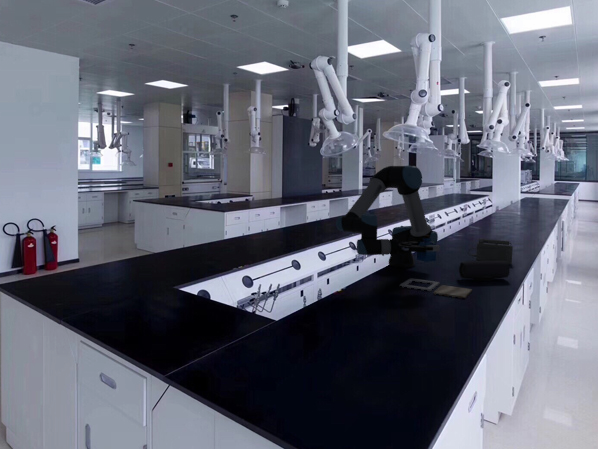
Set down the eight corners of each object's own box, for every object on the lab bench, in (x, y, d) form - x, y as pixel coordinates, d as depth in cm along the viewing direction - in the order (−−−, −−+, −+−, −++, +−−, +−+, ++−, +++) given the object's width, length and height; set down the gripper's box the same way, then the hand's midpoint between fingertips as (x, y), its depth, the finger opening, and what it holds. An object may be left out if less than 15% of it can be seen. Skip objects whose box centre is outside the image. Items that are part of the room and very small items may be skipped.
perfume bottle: (425, 261, 207) (426, 236, 206) (416, 259, 213) (417, 235, 211) (435, 260, 210) (436, 235, 209) (426, 258, 216) (427, 234, 214)
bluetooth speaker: (500, 277, 231) (501, 258, 230) (509, 281, 222) (510, 262, 221) (458, 278, 231) (458, 259, 229) (465, 282, 222) (466, 263, 220)
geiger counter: (513, 240, 262) (469, 236, 275) (512, 241, 256) (467, 238, 270) (512, 263, 264) (468, 258, 277) (510, 265, 258) (466, 260, 272)
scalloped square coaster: (399, 286, 215) (399, 284, 215) (410, 280, 227) (410, 278, 227) (430, 291, 206) (430, 289, 206) (439, 284, 219) (439, 282, 219)
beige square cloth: (433, 294, 202) (433, 292, 202) (442, 287, 214) (442, 285, 214) (464, 298, 194) (464, 296, 194) (472, 291, 206) (472, 289, 206)
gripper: (384, 250, 222) (429, 250, 222) (393, 259, 201) (443, 258, 201) (385, 235, 221) (430, 235, 221) (394, 243, 200) (443, 242, 200)
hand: (436, 246), depth 211 cm, fingers closed on perfume bottle, 8 cm apart
